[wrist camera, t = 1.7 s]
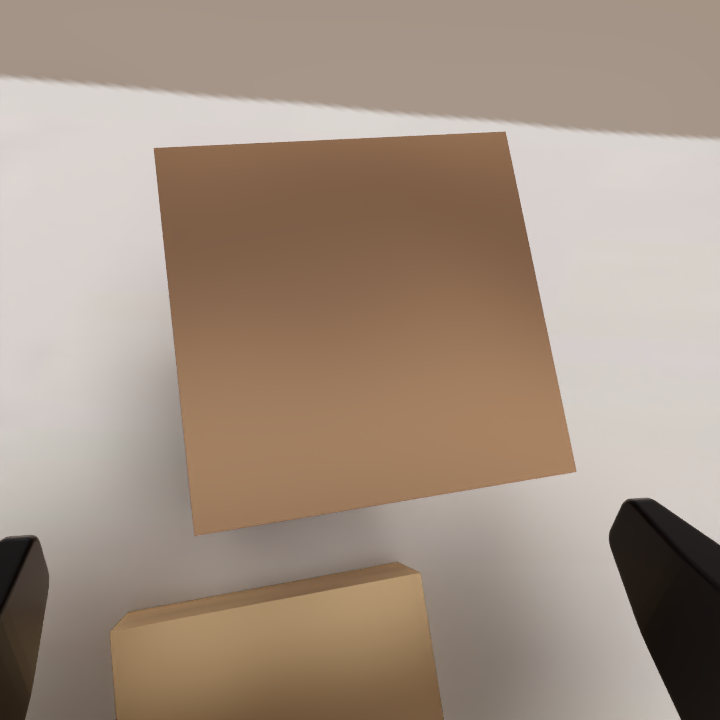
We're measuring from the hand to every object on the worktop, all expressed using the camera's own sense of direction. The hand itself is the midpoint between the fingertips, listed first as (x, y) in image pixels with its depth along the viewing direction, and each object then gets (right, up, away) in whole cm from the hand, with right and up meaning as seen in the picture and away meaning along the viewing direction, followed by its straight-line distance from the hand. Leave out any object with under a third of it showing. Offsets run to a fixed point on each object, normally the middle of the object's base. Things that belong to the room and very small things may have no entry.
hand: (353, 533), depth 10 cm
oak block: (-2, -8, +9) cm, 12 cm away
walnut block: (-2, +1, +10) cm, 11 cm away
